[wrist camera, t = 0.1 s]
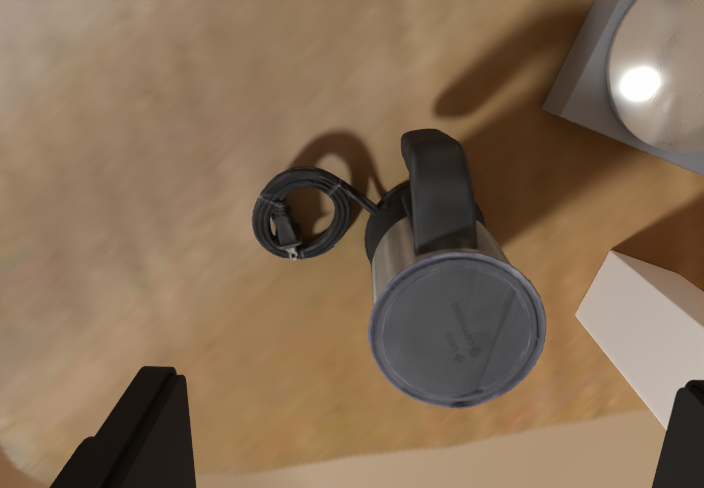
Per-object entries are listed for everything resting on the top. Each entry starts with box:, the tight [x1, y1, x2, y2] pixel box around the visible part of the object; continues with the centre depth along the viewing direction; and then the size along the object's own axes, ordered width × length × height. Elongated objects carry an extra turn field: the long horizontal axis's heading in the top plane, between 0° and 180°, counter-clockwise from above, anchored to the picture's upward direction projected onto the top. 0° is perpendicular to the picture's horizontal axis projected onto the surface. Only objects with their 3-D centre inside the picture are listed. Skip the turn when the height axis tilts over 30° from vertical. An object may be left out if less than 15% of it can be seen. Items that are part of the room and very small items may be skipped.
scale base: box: [541, 0, 704, 176], centre depth 35 cm, size 17×12×4 cm
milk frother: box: [252, 129, 546, 409], centre depth 35 cm, size 14×16×15 cm
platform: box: [605, 0, 704, 153], centre depth 33 cm, size 11×11×1 cm
